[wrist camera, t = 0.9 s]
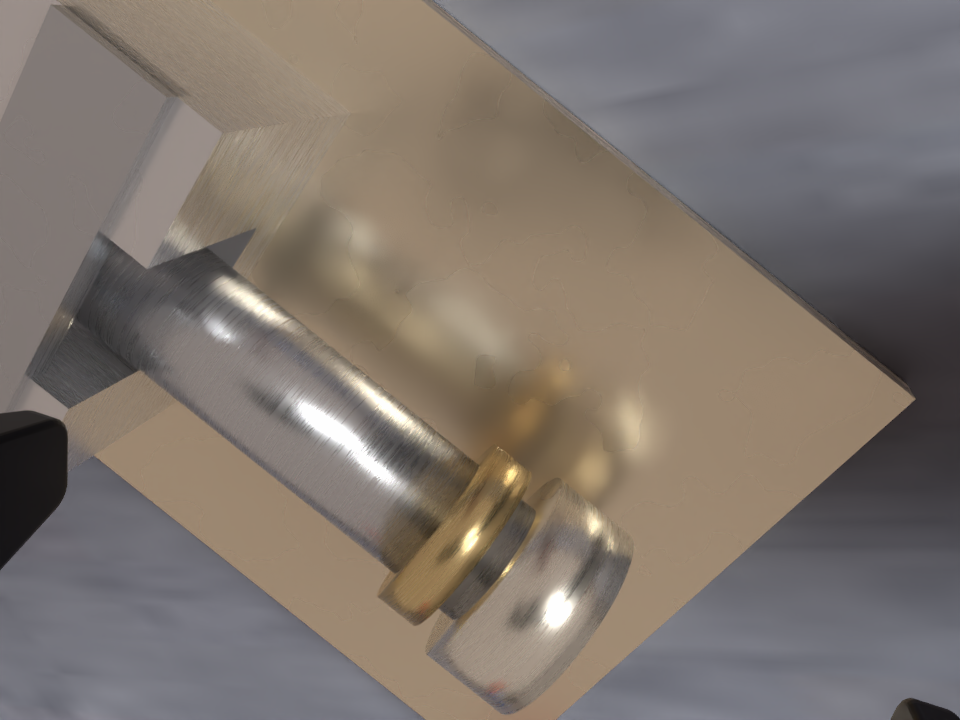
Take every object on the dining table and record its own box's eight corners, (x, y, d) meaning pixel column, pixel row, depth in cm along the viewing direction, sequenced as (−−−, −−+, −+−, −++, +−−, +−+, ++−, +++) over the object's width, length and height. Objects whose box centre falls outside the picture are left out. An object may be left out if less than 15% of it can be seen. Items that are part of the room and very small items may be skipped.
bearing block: (906, 383, 20) (999, 539, 14) (501, 749, 27) (433, 974, 20) (59, -300, 20) (-259, -475, 13) (-142, 237, 26) (-422, 296, 20)
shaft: (641, 499, 20) (622, 619, 16) (521, 619, 22) (474, 756, 18) (177, 126, 20) (30, 146, 16) (96, 279, 22) (-55, 334, 18)
